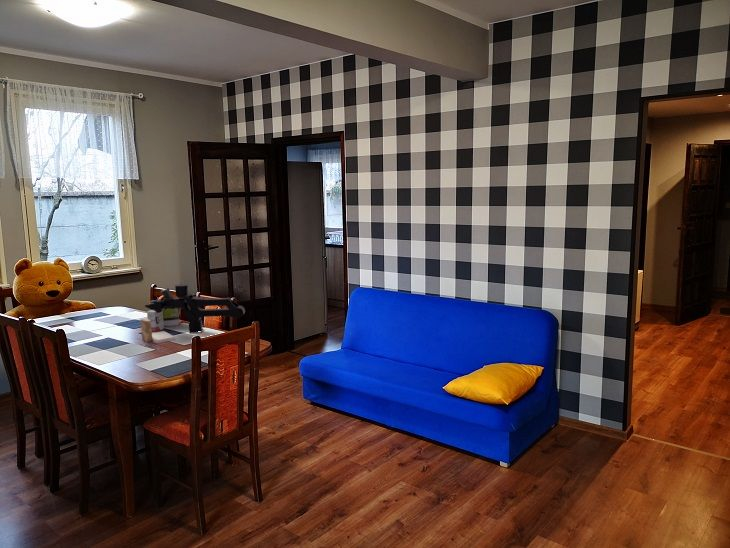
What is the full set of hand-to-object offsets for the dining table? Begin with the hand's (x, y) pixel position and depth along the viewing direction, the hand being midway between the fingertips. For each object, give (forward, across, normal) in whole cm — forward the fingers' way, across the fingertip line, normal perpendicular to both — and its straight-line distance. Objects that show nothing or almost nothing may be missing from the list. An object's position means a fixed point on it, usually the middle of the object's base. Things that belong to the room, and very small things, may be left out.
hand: (148, 304), depth 306 cm
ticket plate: (-9, +12, +16) cm, 22 cm away
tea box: (-3, -18, +17) cm, 25 cm away
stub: (-4, +16, +17) cm, 23 cm away
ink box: (-1, -6, +17) cm, 18 cm away
